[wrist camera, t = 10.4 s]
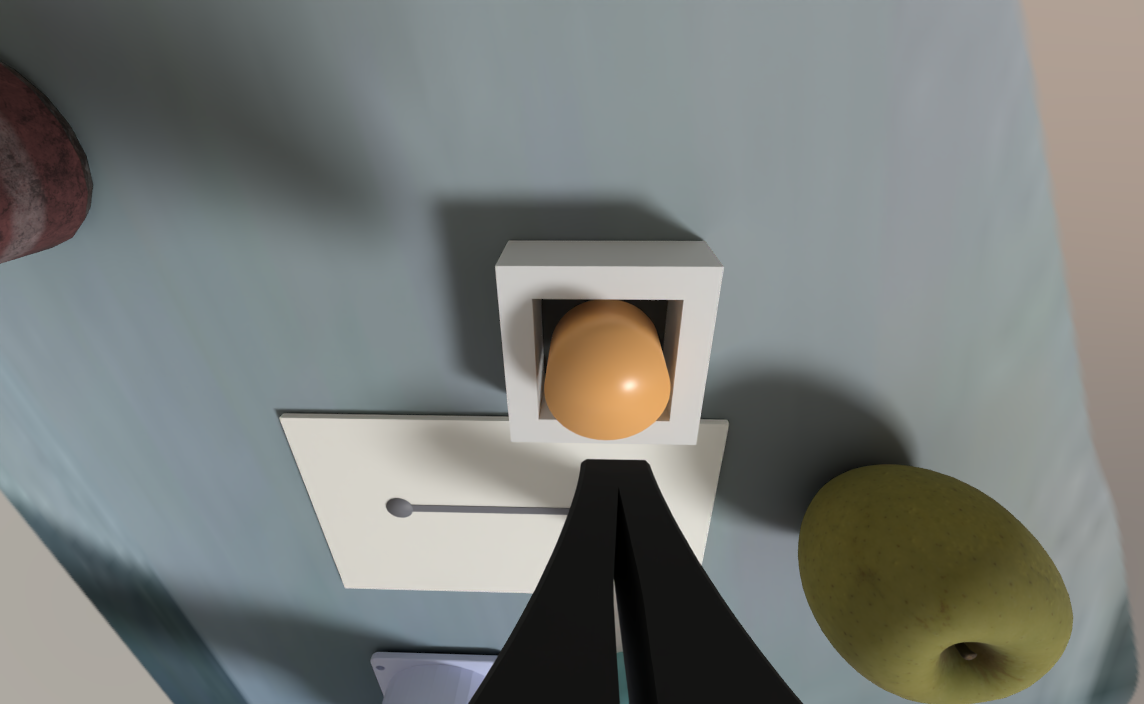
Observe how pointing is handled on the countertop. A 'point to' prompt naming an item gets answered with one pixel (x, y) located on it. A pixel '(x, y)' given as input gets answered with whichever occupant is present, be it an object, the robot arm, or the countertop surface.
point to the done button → (606, 371)
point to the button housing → (608, 274)
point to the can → (37, 171)
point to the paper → (469, 495)
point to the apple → (931, 586)
